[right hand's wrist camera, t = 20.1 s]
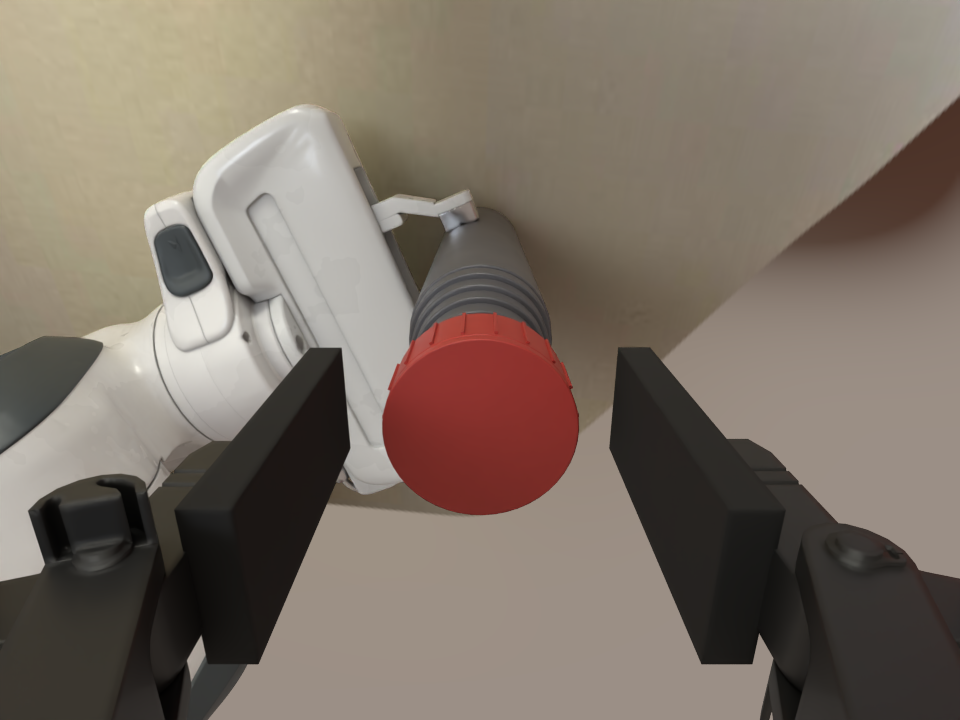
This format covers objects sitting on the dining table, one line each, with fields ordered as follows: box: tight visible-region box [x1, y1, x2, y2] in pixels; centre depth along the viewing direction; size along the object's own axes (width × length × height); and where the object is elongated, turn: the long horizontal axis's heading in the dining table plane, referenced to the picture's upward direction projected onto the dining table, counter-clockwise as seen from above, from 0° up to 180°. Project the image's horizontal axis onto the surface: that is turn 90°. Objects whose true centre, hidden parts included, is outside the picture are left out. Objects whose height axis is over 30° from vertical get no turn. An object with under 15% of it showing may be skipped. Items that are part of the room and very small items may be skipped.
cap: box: [382, 312, 579, 515], centre depth 13 cm, size 4×4×2 cm
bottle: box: [409, 207, 552, 346], centre depth 24 cm, size 5×5×24 cm
